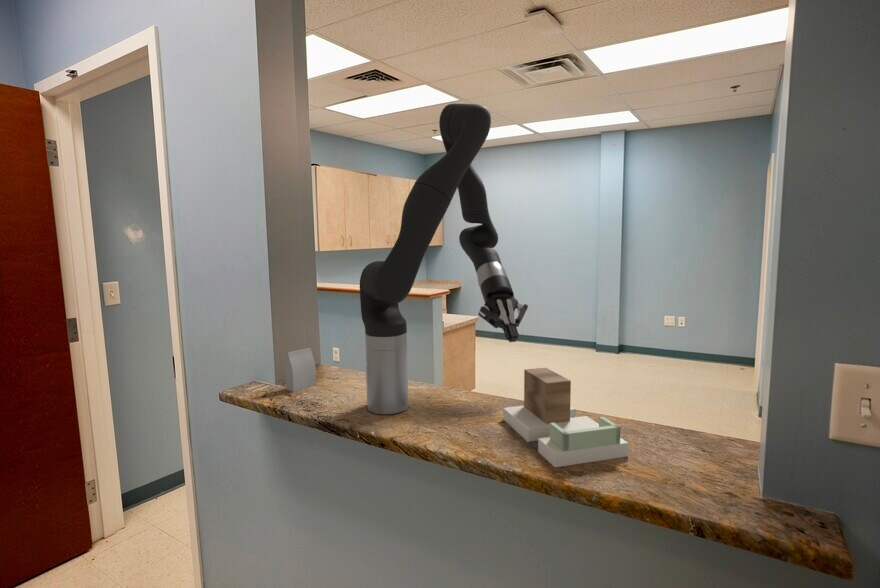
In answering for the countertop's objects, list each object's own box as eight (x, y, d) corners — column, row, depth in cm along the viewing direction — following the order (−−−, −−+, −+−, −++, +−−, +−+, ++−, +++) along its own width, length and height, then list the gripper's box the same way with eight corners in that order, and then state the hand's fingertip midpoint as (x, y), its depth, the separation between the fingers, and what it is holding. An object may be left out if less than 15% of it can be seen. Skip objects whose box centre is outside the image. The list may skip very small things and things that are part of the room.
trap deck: (503, 419, 98) (503, 394, 97) (563, 412, 102) (563, 387, 101) (554, 467, 77) (555, 435, 76) (628, 456, 80) (629, 425, 80)
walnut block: (524, 406, 98) (524, 369, 98) (545, 404, 100) (546, 367, 99) (546, 424, 89) (547, 383, 88) (570, 421, 90) (570, 380, 89)
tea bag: (316, 386, 123) (314, 349, 122) (293, 392, 118) (291, 353, 117) (308, 383, 125) (306, 347, 124) (285, 389, 120) (283, 351, 119)
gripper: (472, 274, 115) (491, 332, 104) (522, 273, 118) (544, 329, 107) (466, 294, 120) (483, 350, 110) (513, 291, 124) (534, 346, 113)
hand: (513, 340), depth 109 cm, fingers closed
